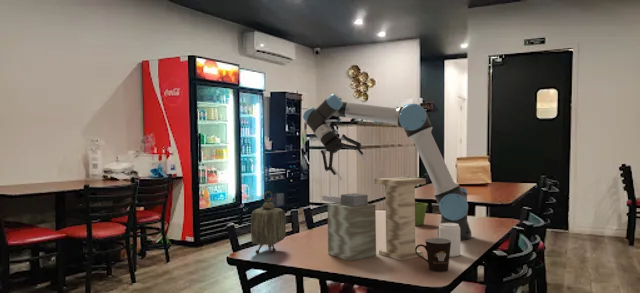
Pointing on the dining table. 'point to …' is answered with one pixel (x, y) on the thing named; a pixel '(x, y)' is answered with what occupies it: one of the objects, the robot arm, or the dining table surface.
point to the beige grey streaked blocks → (360, 224)
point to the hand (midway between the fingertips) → (353, 170)
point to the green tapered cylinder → (420, 213)
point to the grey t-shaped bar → (348, 199)
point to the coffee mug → (437, 253)
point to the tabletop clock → (268, 225)
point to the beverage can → (451, 237)
